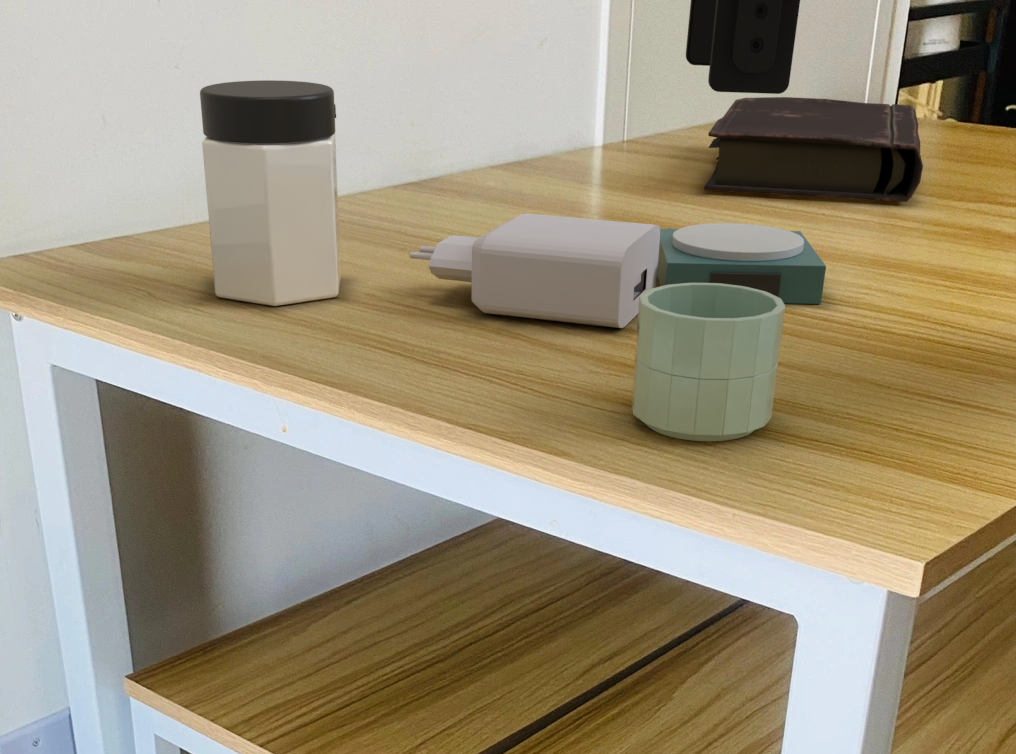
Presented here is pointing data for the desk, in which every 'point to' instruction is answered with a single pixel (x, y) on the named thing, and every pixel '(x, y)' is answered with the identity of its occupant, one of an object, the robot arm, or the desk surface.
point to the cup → (706, 360)
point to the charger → (554, 268)
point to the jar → (272, 190)
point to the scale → (743, 259)
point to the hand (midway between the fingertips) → (732, 77)
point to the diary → (817, 149)
